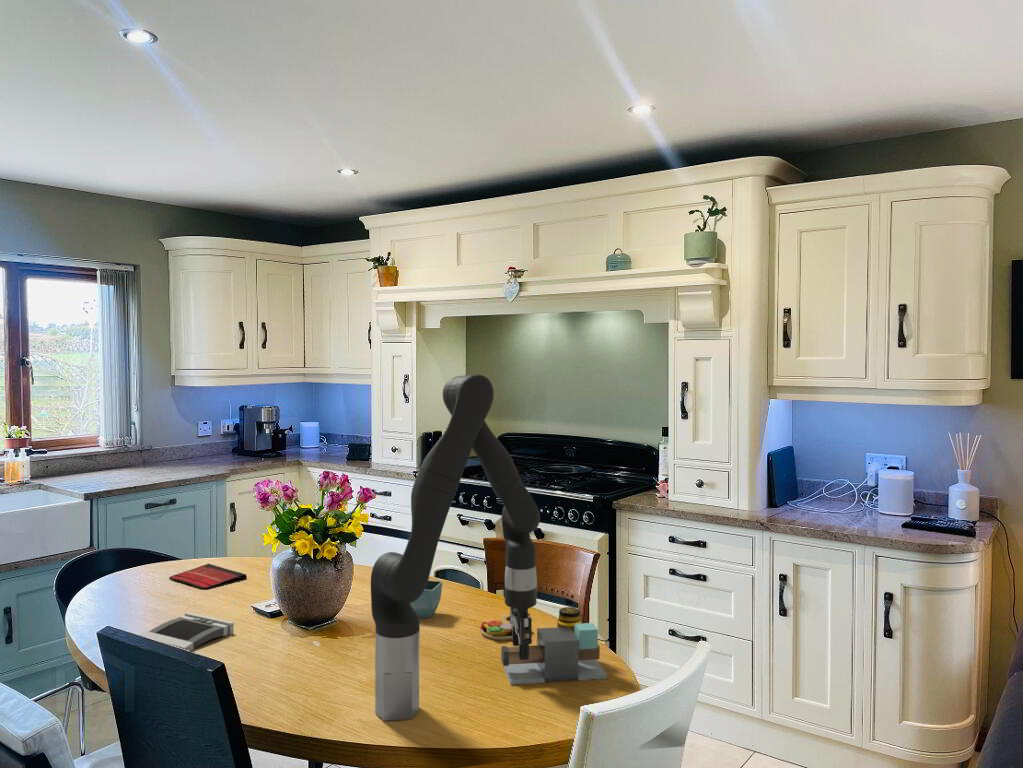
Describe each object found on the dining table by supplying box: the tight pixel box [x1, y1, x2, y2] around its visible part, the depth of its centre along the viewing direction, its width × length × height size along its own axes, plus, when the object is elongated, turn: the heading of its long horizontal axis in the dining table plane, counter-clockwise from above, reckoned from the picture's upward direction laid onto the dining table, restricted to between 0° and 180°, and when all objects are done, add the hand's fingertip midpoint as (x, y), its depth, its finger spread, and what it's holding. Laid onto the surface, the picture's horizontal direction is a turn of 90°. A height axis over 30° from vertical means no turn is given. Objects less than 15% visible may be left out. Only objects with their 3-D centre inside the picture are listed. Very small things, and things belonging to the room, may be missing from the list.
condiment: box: [556, 606, 582, 633], centre depth 193 cm, size 7×8×12 cm
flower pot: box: [410, 579, 443, 619], centre depth 222 cm, size 9×9×9 cm
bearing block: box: [536, 626, 579, 684], centre depth 182 cm, size 9×8×10 cm
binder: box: [169, 563, 247, 591], centre depth 255 cm, size 16×2×21 cm
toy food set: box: [479, 613, 514, 641], centre depth 209 cm, size 13×13×3 cm
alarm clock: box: [140, 612, 235, 652], centre depth 202 cm, size 17×5×16 cm
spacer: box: [574, 622, 599, 649], centre depth 183 cm, size 4×4×4 cm
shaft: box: [500, 644, 601, 667], centre depth 182 cm, size 3×23×3 cm, turn 100°
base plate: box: [503, 659, 608, 686], centre depth 182 cm, size 9×23×1 cm, turn 100°
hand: (520, 652), depth 181 cm, fingers open, 8 cm apart
